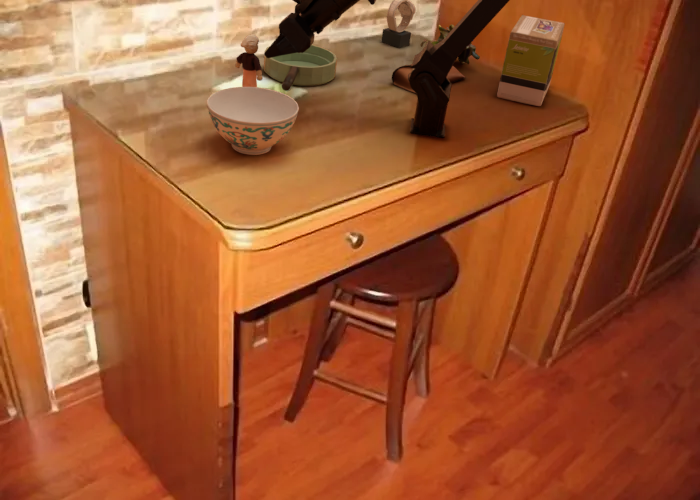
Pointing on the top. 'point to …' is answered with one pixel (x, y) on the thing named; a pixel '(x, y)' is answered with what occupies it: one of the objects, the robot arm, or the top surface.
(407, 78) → the sunglasses case
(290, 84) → the pan handle
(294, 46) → the robot arm
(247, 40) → the grandmother figurine
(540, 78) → the tea box
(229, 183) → the top surface
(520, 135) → the top surface
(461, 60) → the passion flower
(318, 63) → the pan
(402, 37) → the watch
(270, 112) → the chinaware
